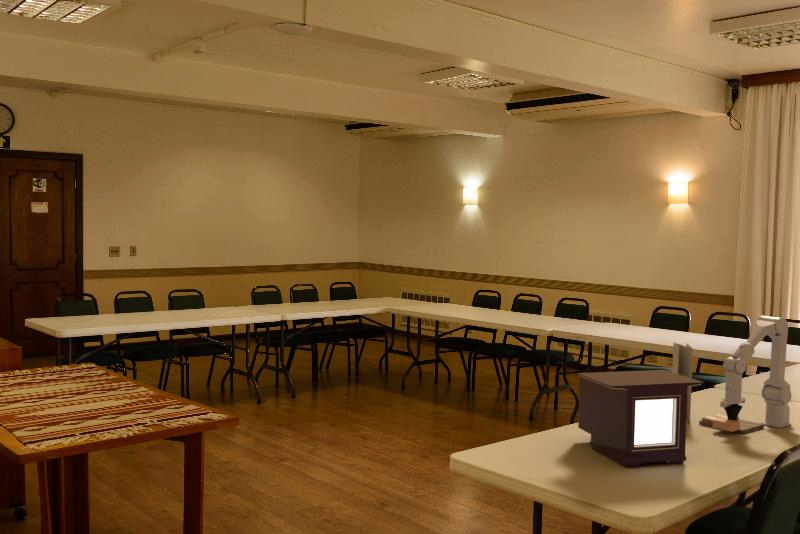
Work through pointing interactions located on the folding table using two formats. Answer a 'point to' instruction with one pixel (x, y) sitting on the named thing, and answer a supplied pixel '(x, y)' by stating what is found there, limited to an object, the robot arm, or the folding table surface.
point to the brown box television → (635, 415)
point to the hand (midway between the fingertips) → (732, 423)
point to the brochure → (683, 367)
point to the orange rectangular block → (726, 424)
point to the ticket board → (744, 425)
